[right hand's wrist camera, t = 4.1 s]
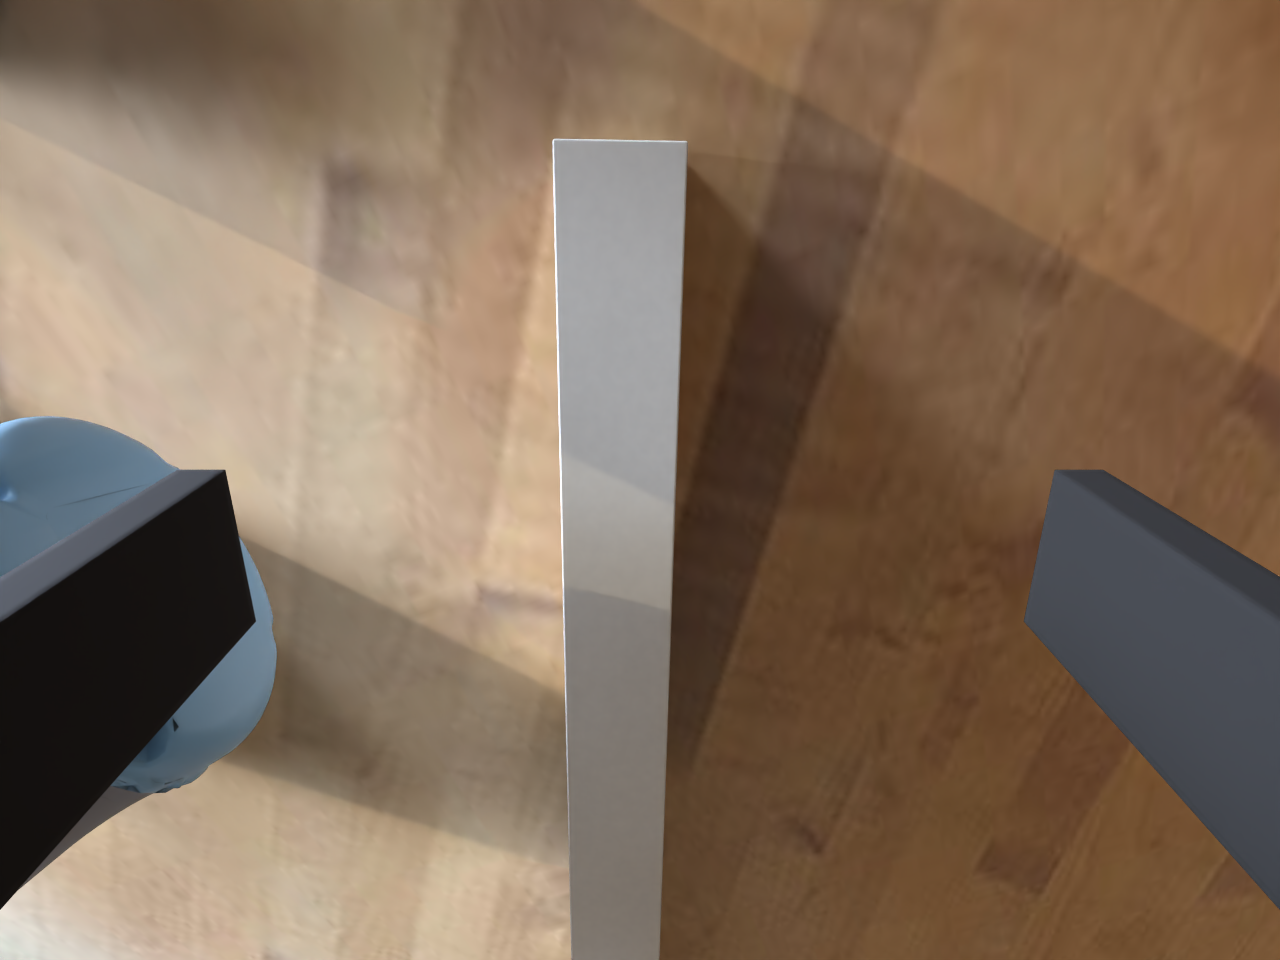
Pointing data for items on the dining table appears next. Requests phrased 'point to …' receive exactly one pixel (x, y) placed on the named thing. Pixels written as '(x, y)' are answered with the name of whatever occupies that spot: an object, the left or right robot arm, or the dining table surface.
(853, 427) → the dining table surface
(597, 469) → the post
